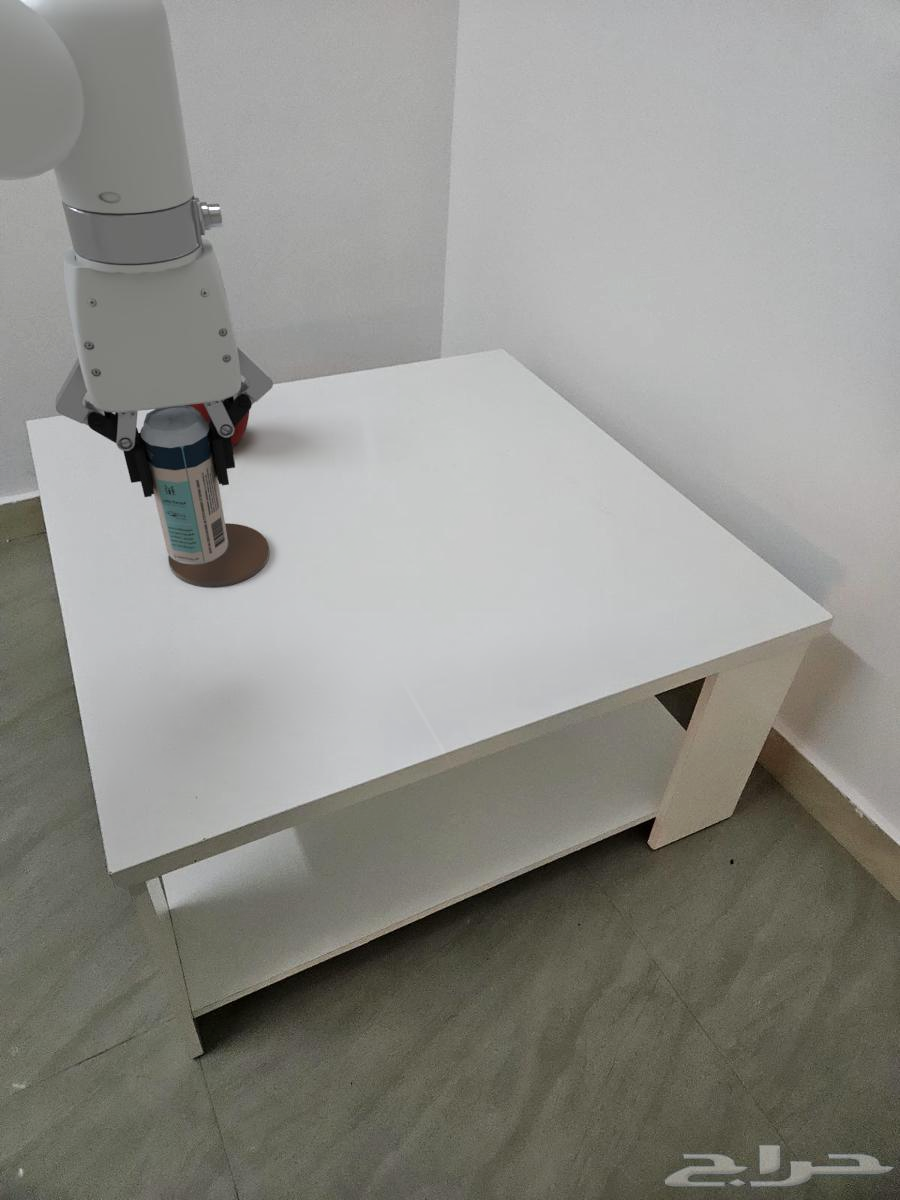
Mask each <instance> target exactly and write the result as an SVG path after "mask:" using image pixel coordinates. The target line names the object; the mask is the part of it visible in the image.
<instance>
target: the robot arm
mask: <svg viewBox="0 0 900 1200" xmlns="http://www.w3.org/2000/svg"><path fill="white" fill-rule="evenodd" d="M176 71H177V70H176V64H175V57H174V53H173V43H172V37H171V31H170V26H169V21H168V16H167V11H166V8H165V6H164V3H163V1H162V0H0V181H16V180H26V179H31V178H35V177H37V176H42V175H43V174H45V173H47V172H49V171H52V170H53V172H54V174H55V179H56V183H57V187H58V191H59V195H60V198H61V203H62V204H61V205H62V208H63V212H64V215H65V219H66V220H65V221H66V224H67V227H68V232H69V235H70V240H71V244H72V245H71V246H69V247H67V248H66V249H65V250H64V251H63V252H62V255H63V256H62V259H63V260H62V262H63V264H62V265H63V275H64V276H63V277H64V286H65V287H64V288H65V293H66V300H67V307H68V313H69V317H70V322H71V328H72V334H73V338H74V343H75V347H76V352H77V359H76V361H75V362H74V364H73V366H72V367H71V369H70V371H69V373H68V375H67V377H66V378H65V380H64V382H63V384H62V386H61V388H60V390H59V391H58V392H57V395H56V397H55V410H56V412H57V413H58V414H60V415H61V416H63V417H66V418H68V419H71V420H73V421H74V422H77V423H80V424H82V425H83V424H84V425H86V426H88V428H90V429H91V430H92V431H94V432H95V433H97V434H99V435H101V436H102V437H104V438H106V439H108V440H109V441H111V442H113V443H115V444H116V446H117V448H118V449H119V450H120V451H123V456H124V459H125V463H126V467H127V471H128V475H129V481H130V483H131V484H132V483H140V484H141V488H142V493H143V496H144V498H149V497H151V498H152V497H153V495H154V490H153V485H152V480H151V476H150V471H149V467H148V463H147V458H146V454H145V450H144V445H143V443H142V440H141V433H140V432H139V428H138V427H137V425H138V414H139V413H138V412H140V411H150V410H155V409H159V408H167V407H175V406H183V405H191V404H199V403H204V405H205V407H206V409H207V411H208V413H209V415H210V418H209V419H210V420H209V423H210V424H208V425H209V430H210V438H211V444H212V450H213V456H214V462H215V468H216V474H217V478H218V484H219V485H221V486H223V487H224V486H228V485H229V486H230V480H229V476H228V475H229V474H228V469H235V468H236V462H235V456H234V450H233V446H232V442H231V436H232V435H233V433H234V430H235V429H234V428H235V426H236V425H237V424H238V423H239V422H240V421H241V419H242V418H243V417H244V416H245V415H246V414H247V412H248V411H249V412H250V411H251V409H252V406H253V405H254V404H255V403H257V402H258V401H260V400H261V398H262V397H264V396H266V394H267V393H268V392H270V390H271V389H272V388H273V387H274V383H273V379H272V377H271V375H270V374H269V372H268V371H267V370H266V368H264V367H263V366H262V365H260V363H259V362H257V360H256V359H255V358H254V357H252V355H251V354H249V353H248V351H246V350H245V349H244V348H243V347H242V346H241V345H240V344H239V343H238V342H237V340H236V334H235V328H234V325H233V324H234V323H233V317H232V313H231V309H230V305H229V300H228V296H227V293H226V292H227V291H226V289H225V286H224V281H223V277H222V273H221V268H220V265H219V262H218V258H217V256H216V253H215V250H214V247H213V245H212V243H211V241H209V240H208V239H205V238H202V236H206V231H211V229H213V228H222V227H223V216H222V211H221V207H220V204H219V203H207V202H206V201H200V198H199V197H195V193H194V187H193V186H194V185H193V179H192V173H191V166H190V160H189V153H188V146H187V139H186V138H187V137H186V132H185V126H184V118H183V111H182V105H181V99H180V92H179V85H178V79H177V72H176ZM242 377H243V378H244V379H245V380H244V381H242ZM241 381H242V382H243V383H242V385H241ZM86 394H87V396H88V398H89V400H90V401H89V400H87V399H85V396H86ZM223 399H225V400H223Z"/></svg>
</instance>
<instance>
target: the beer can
mask: <svg viewBox="0 0 900 1200" xmlns="http://www.w3.org/2000/svg"><path fill="white" fill-rule="evenodd" d="M142 425H143V426H142V427H141V429H140V431H139V433H141V440H142V443H143V445H144V450H145V454H146V458H147V463H148V467H149V471H150V476H151V480H152V485H153V490H154V494H153V497H154V500H155V505H156V509H157V513H158V517H159V522H160V526H161V530H162V535H163V539H164V540H163V541H164V545H165V548H166V552H167V554H168V556H170V557H171V558H172V559H174V560H175V561H177V562H180V563H185V564H193V565H195V564H203V563H207V562H210V561H213V560H215V559H216V558H218V557H219V556H221V555H222V554H223V553H224V552H225V551H226V549H227V547H228V538H227V532H226V526H225V523H226V521H225V520H226V519H225V515H224V509H223V503H222V496H221V491H220V484H219V482H218V478H217V474H216V468H215V462H214V456H213V450H212V444H211V438H210V430H209V425H208V423H207V421H206V420H205V419H204V418H203V416H202V415H201V413H200V412H199V411H197V410H196V409H195V408H193V407H191V406H184V405H183V406H175V407H167V408H159V409H152V410H151V411H149V412H147V413H146V415H145V417H144V420H143V424H142Z"/></svg>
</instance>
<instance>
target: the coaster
mask: <svg viewBox="0 0 900 1200" xmlns="http://www.w3.org/2000/svg"><path fill="white" fill-rule="evenodd" d="M225 526H226V532H227V538H228V547H227V549H226V551H225V552H224V553H223V554H222V555H221V556H219V557H218V558H216V559H215V560H213V561H210V562H207V563H203V564H195V565H193V564H185V563H180V562H177V561H175V560H174V559H172V558H171V557H170V556H169V555H167V559H168V565H169V568H170V570H171V572H172V573H173V574H174V576H175V577H177V578H178V579H179V580H181V581H182V582H184V583H187V584H190V585H193V586H195V587H196V586H198V587H201V588H202V587H203V588H220V587H228V586H231V585H236V584H239V583H242V582H244V581H246V580H249V579H250V578H252V577H254V576H255V575H256V574H257V573H259V572H260V571H262V569H264V567H265V566H266V564H267V563H268V560H269V557H270V546H269V543H268V540H267V539H266V538H265V536H264V535H263V534H262V533H261V532H260V531H258V530H257V529H254V528H252V527H250V526H247V525H244V524H239V523H229V522H225Z"/></svg>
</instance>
